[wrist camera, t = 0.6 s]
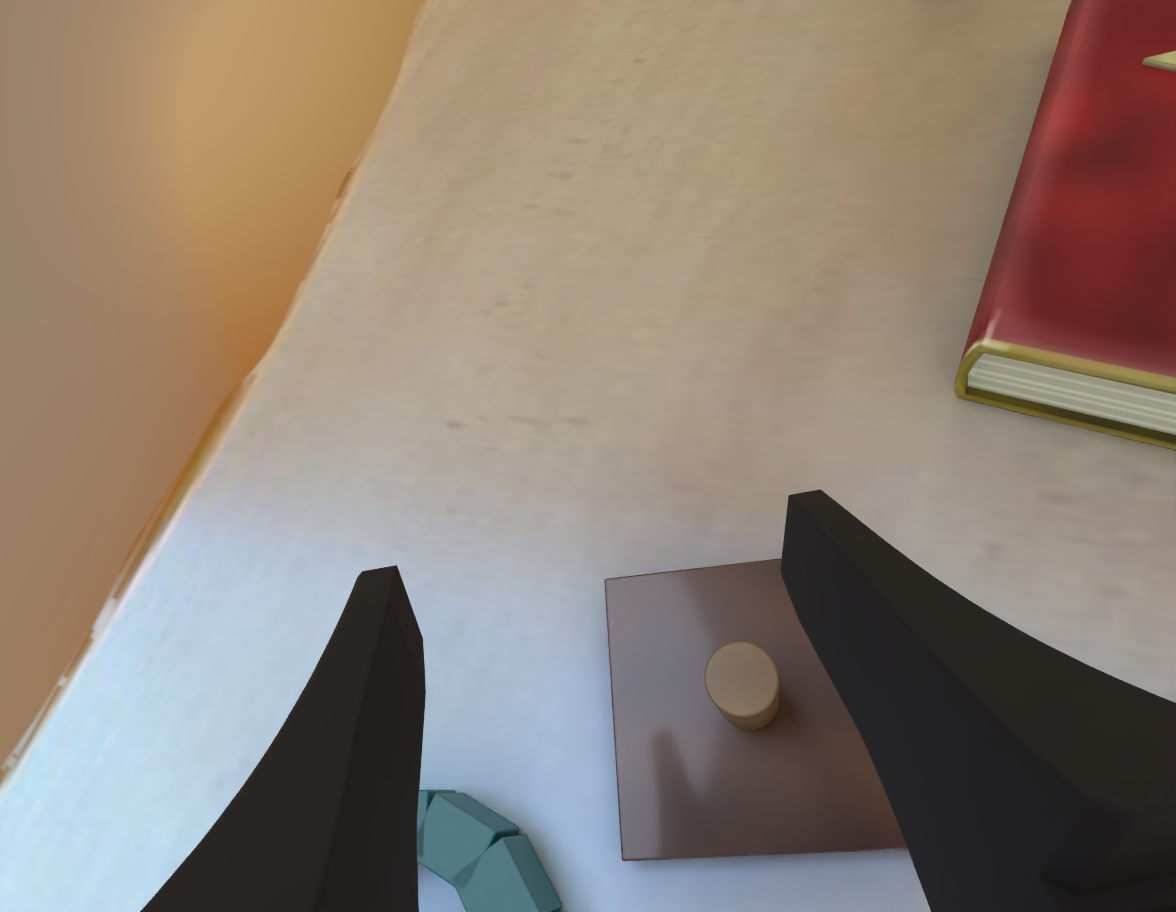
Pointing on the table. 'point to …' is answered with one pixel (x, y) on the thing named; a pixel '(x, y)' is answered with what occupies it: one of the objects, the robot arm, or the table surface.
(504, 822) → the ring
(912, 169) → the table surface
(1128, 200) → the hardcover book
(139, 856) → the table surface
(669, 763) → the stand
